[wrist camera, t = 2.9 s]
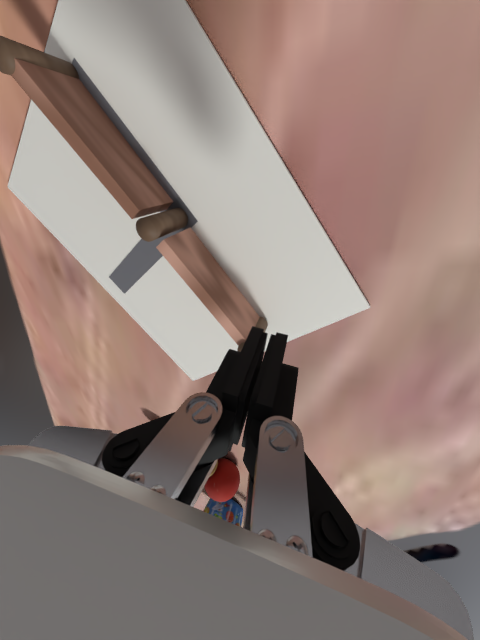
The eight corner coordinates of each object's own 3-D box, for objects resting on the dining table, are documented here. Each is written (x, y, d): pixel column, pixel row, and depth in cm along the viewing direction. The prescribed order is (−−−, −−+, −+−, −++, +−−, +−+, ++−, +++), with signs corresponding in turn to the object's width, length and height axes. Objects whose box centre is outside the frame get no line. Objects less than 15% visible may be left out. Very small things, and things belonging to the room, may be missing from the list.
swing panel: (181, 236, 21) (151, 250, 17) (193, 224, 20) (163, 237, 16) (258, 332, 24) (245, 361, 20) (270, 326, 23) (259, 355, 19)
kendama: (157, 425, 46) (233, 485, 44) (132, 451, 41) (218, 521, 38) (169, 400, 43) (252, 464, 40) (143, 425, 37) (239, 500, 35)
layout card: (103, -136, 12) (96, -145, 12) (369, 305, 20) (370, 307, 19) (11, 186, 25) (6, 186, 24) (194, 378, 32) (192, 381, 32)
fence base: (65, 54, 17) (-11, 23, 13) (191, 220, 20) (159, 232, 16) (57, 76, 17) (-15, 53, 14) (180, 231, 21) (147, 246, 17)
